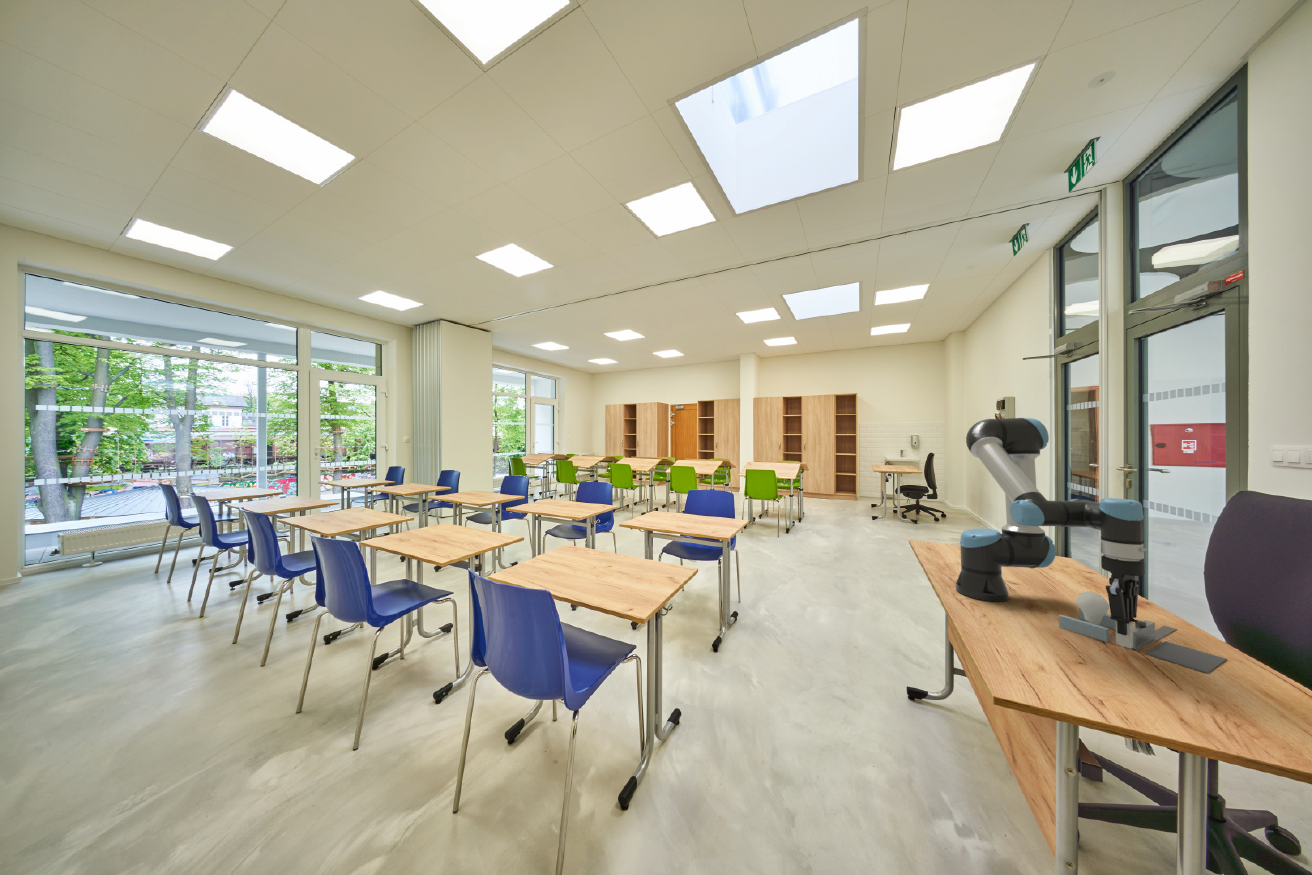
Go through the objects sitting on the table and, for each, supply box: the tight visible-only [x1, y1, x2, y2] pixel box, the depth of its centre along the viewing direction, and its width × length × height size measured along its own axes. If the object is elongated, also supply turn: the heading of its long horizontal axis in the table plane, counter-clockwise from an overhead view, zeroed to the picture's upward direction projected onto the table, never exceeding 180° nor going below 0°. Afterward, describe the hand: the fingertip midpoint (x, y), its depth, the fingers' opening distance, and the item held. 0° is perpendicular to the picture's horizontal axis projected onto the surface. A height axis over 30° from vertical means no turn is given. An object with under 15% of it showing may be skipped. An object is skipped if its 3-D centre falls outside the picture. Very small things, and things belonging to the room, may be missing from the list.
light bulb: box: [1076, 591, 1110, 626], centre depth 119 cm, size 7×7×11 cm
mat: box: [1144, 641, 1228, 675], centre depth 104 cm, size 10×14×1 cm
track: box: [1123, 625, 1178, 653], centre depth 114 cm, size 2×28×1 cm, turn 114°
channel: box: [1058, 607, 1116, 643], centre depth 119 cm, size 10×14×4 cm
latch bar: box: [1133, 619, 1156, 649], centre depth 111 cm, size 2×13×6 cm, turn 114°
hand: (1124, 645), depth 107 cm, fingers closed
